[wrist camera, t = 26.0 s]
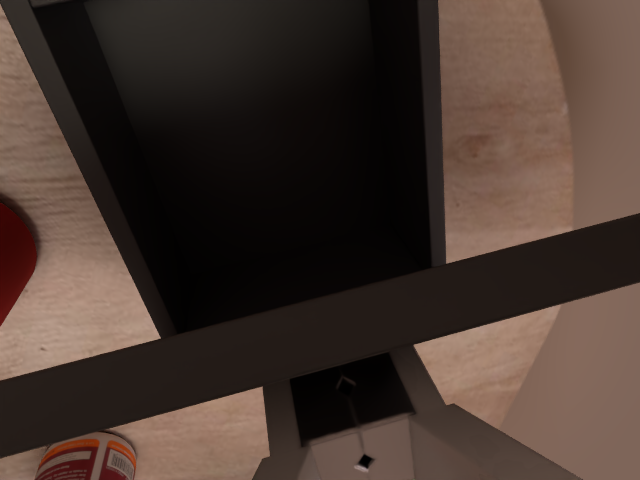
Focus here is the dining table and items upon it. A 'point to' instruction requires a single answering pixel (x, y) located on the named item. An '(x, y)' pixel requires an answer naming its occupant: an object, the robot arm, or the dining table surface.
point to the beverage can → (14, 259)
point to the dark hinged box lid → (313, 335)
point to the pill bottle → (89, 459)
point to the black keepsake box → (249, 142)
